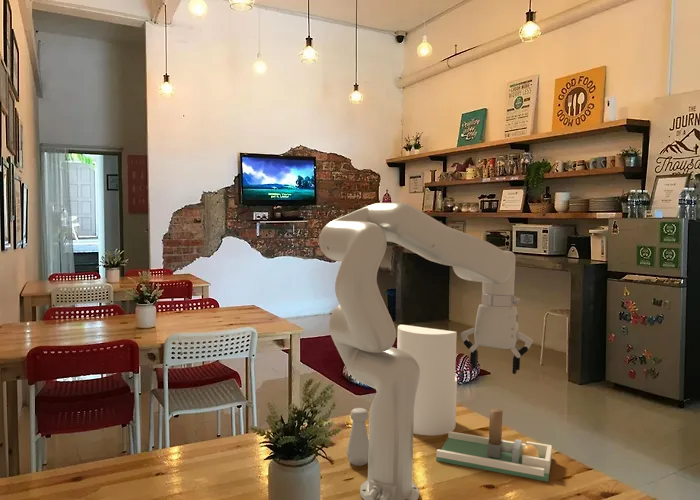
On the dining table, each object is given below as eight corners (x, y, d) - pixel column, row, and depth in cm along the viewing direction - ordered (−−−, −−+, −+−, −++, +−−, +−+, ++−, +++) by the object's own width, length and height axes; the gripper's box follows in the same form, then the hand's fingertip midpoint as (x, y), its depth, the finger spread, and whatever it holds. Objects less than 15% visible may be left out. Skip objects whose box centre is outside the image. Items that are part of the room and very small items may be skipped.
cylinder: (441, 440, 152) (444, 337, 150) (384, 426, 161) (387, 329, 159) (464, 421, 166) (467, 326, 165) (411, 409, 175) (413, 320, 174)
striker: (518, 463, 135) (520, 418, 134) (486, 457, 138) (488, 413, 137) (521, 453, 141) (522, 410, 140) (490, 448, 144) (491, 406, 143)
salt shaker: (368, 468, 134) (369, 414, 133) (344, 466, 135) (345, 412, 134) (372, 458, 139) (373, 406, 139) (349, 456, 140) (350, 404, 140)
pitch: (548, 481, 129) (548, 464, 129) (436, 460, 139) (436, 444, 139) (551, 457, 142) (552, 442, 141) (449, 440, 152) (449, 425, 151)
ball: (517, 451, 136) (524, 467, 136) (533, 446, 135) (540, 462, 134) (519, 445, 140) (526, 460, 139) (534, 440, 138) (542, 455, 138)
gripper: (536, 301, 138) (532, 371, 139) (465, 296, 145) (462, 362, 146) (533, 305, 131) (529, 378, 132) (458, 299, 138) (456, 369, 139)
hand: (494, 370), depth 139 cm, fingers open, 9 cm apart
